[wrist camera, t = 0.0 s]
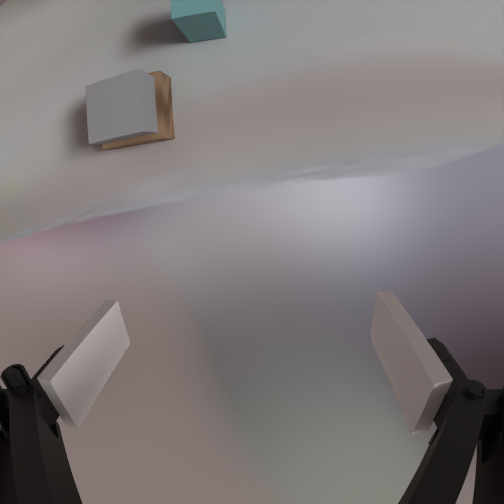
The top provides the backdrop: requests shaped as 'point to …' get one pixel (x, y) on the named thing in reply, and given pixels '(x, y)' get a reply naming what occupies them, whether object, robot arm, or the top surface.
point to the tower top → (121, 108)
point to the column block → (199, 19)
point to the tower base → (163, 116)
